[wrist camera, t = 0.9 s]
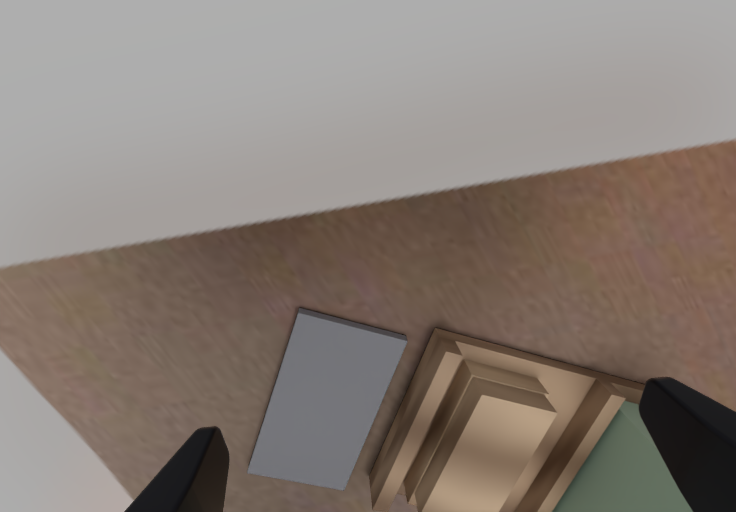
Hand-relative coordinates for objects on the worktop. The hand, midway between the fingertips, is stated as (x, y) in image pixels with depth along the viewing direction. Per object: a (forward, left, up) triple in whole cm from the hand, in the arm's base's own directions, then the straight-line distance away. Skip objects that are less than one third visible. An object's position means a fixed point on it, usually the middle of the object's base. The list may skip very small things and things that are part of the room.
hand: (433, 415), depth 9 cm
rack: (-11, -14, -14) cm, 22 cm away
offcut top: (-10, -10, -12) cm, 19 cm away
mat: (-12, -1, -14) cm, 18 cm away
